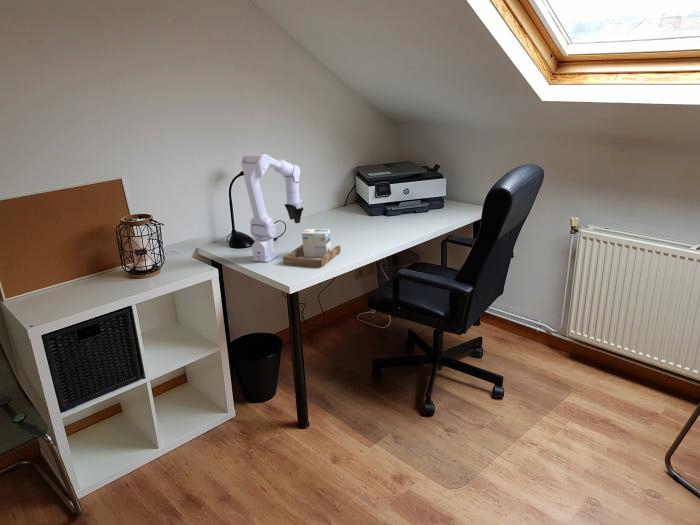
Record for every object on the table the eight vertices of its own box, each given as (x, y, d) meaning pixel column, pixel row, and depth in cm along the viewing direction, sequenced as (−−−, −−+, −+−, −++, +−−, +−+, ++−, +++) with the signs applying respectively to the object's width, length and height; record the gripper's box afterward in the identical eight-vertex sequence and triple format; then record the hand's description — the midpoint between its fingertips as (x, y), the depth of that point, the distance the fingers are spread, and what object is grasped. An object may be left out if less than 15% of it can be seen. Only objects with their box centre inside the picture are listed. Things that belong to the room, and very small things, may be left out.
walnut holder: (321, 267, 231) (321, 260, 230) (283, 264, 238) (283, 257, 237) (340, 252, 249) (340, 245, 248) (305, 249, 255) (304, 242, 254)
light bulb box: (331, 252, 249) (330, 228, 245) (327, 257, 243) (326, 233, 239) (307, 252, 251) (306, 228, 248) (303, 257, 245) (301, 232, 242)
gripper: (306, 193, 253) (308, 223, 257) (296, 187, 266) (298, 216, 270) (290, 195, 250) (293, 225, 255) (281, 189, 263) (283, 218, 268)
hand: (294, 221), depth 262 cm, fingers open, 7 cm apart
